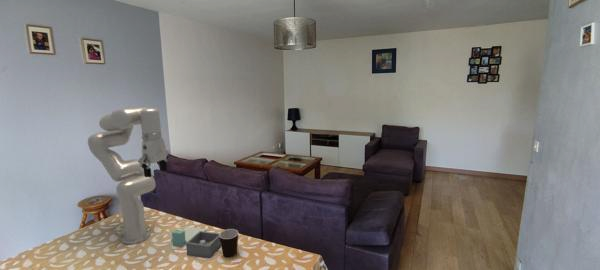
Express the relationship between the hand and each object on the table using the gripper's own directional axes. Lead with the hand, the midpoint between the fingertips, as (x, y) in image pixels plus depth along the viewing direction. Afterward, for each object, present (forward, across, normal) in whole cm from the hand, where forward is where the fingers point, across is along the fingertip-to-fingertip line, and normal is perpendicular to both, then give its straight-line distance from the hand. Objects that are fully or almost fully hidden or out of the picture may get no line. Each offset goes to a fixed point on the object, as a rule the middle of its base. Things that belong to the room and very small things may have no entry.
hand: (156, 173), depth 126 cm
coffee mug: (+38, +6, -32) cm, 50 cm away
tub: (+38, +4, -19) cm, 43 cm away
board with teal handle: (+38, +12, -4) cm, 40 cm away
